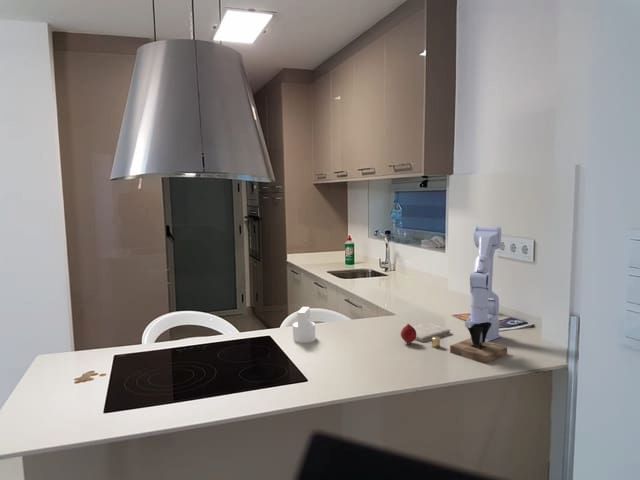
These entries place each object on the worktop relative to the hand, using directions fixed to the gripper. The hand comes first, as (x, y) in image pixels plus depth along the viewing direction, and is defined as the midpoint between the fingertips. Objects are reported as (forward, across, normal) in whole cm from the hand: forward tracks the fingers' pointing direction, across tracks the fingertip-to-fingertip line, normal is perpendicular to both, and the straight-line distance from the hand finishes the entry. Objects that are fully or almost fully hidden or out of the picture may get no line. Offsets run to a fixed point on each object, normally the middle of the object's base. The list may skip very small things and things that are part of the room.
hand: (478, 343), depth 160 cm
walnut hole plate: (+4, 0, 0) cm, 4 cm away
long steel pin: (+3, 0, 0) cm, 3 cm away
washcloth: (+4, -3, -26) cm, 26 cm away
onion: (+4, +11, -23) cm, 26 cm away
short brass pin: (+4, +6, -14) cm, 16 cm away
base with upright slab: (+4, +38, -54) cm, 66 cm away
